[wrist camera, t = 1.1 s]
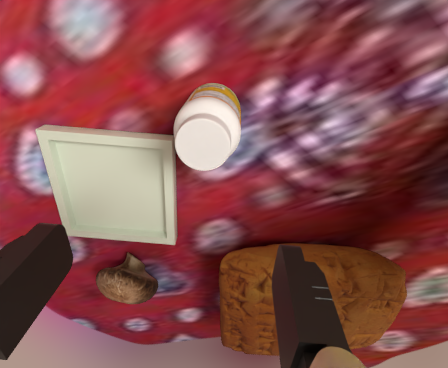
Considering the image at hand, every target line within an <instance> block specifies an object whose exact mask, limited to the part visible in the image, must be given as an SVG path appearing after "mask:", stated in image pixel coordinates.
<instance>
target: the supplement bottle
mask: <svg viewBox="0 0 448 368" xmlns="http://www.w3.org/2000/svg"><path fill="white" fill-rule="evenodd" d="M240 136H241V110H240V104H239V101H238V99H237V97H236V95H235V94H234V93H233V92H232V91H231V90H230V89H229V88H227V87H226V86H224V85H221V84H217V83H209V84H205V85H202V86H200V87H198V88H197V89H196V90H195V91H194V92H193V93H192V94H191V95H190V97H189V98H188V100H187V101H186V102H185V104H184V105H183V107H182V108H181V109H180V111H179V112H178V114H177V116H176V119H175V122H174V137H175V149H176V152H177V154H178V156H179V158H180V159H181V160H182V162H184V163H185V164H186V165H187V166H189V167H191V168H193V169H196V170H200V171H208V170H213V169H215V168H217V167H219V166H221V165H222V164H223V163H224V162H225V161H226V159H227V158H228V157H229V156H230V155H231V154H232V153H233V152H234V151H235V150H236V148H237V146H238V144H239V141H240Z"/></svg>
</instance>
